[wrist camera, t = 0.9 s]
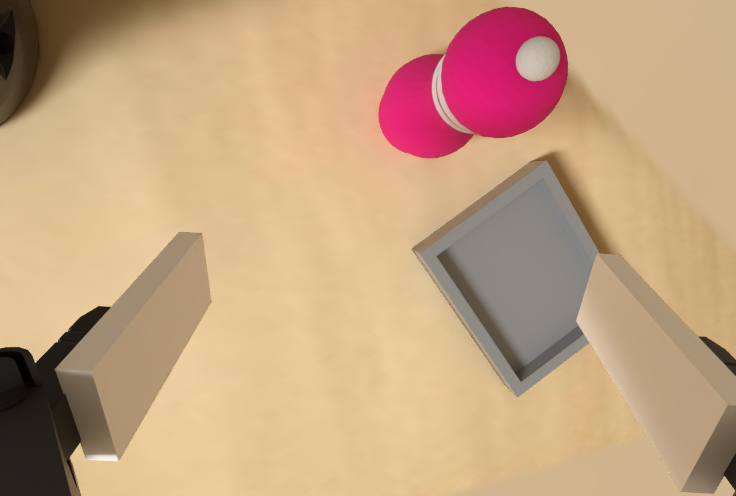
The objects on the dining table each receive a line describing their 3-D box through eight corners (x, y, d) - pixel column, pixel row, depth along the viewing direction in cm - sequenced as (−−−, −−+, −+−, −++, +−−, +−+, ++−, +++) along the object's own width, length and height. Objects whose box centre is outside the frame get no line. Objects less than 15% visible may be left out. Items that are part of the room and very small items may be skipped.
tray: (411, 248, 40) (419, 253, 38) (531, 161, 41) (546, 160, 38) (504, 385, 44) (517, 397, 41) (613, 302, 44) (632, 309, 42)
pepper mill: (422, 50, 38) (567, -84, 18) (473, 122, 39) (658, 70, 20) (354, 108, 37) (428, 35, 18) (409, 178, 39) (531, 180, 20)
